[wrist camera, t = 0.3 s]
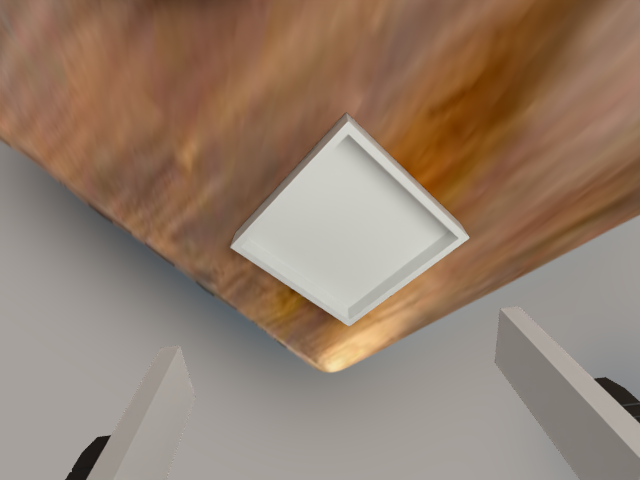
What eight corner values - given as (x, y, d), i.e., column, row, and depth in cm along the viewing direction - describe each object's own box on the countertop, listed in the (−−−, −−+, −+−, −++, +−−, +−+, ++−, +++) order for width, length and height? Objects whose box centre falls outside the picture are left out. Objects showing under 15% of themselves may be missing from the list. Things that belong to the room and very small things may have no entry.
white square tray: (346, 112, 34) (348, 121, 31) (460, 223, 40) (469, 238, 38) (235, 232, 41) (230, 247, 38) (347, 309, 48) (348, 326, 45)
